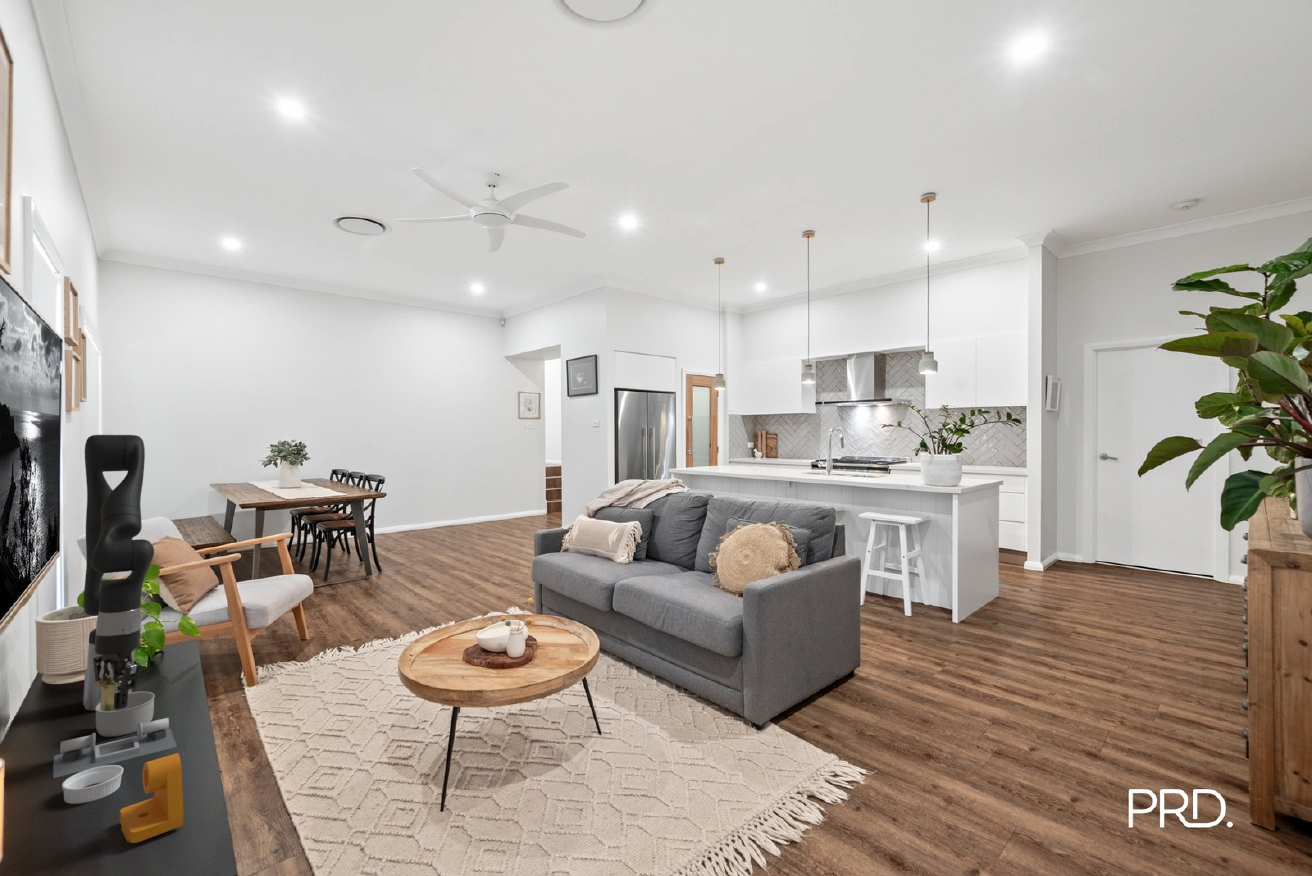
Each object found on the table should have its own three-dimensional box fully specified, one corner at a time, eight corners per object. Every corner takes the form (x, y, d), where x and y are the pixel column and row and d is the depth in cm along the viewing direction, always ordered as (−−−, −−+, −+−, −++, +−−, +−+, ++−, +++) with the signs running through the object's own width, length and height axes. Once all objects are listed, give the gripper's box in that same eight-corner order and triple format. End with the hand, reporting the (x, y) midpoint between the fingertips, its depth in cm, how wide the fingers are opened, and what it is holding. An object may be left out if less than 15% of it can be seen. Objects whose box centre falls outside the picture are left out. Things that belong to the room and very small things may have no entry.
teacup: (162, 729, 147) (164, 696, 147) (107, 748, 137) (109, 713, 137) (132, 717, 153) (134, 685, 153) (77, 734, 143) (79, 700, 143)
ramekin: (68, 817, 112) (70, 794, 112) (54, 801, 116) (55, 779, 117) (129, 795, 119) (130, 773, 119) (113, 781, 124) (114, 760, 124)
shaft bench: (52, 784, 122) (54, 755, 122) (53, 761, 131) (55, 734, 131) (176, 752, 136) (178, 726, 136) (170, 733, 145) (171, 709, 145)
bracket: (118, 823, 110) (122, 758, 111) (167, 806, 116) (171, 744, 116) (131, 849, 104) (135, 779, 104) (182, 830, 109) (186, 763, 110)
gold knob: (101, 714, 129) (103, 683, 129) (90, 710, 131) (92, 679, 131) (136, 703, 135) (138, 673, 135) (125, 700, 137) (127, 670, 137)
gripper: (80, 629, 133) (75, 706, 132) (116, 638, 127) (111, 719, 127) (120, 621, 140) (116, 694, 139) (156, 629, 134) (152, 706, 134)
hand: (114, 705), depth 133 cm, fingers closed on gold knob, 4 cm apart
